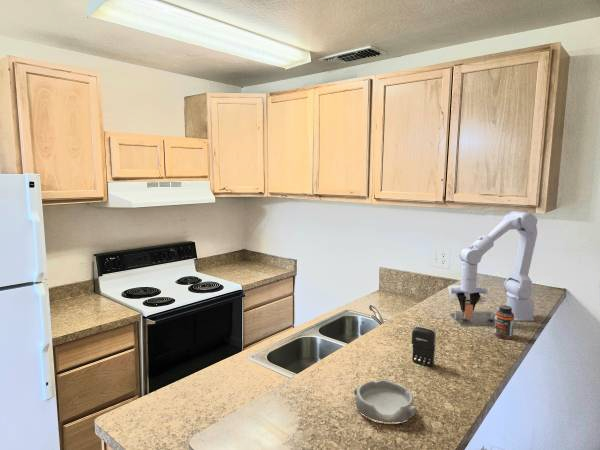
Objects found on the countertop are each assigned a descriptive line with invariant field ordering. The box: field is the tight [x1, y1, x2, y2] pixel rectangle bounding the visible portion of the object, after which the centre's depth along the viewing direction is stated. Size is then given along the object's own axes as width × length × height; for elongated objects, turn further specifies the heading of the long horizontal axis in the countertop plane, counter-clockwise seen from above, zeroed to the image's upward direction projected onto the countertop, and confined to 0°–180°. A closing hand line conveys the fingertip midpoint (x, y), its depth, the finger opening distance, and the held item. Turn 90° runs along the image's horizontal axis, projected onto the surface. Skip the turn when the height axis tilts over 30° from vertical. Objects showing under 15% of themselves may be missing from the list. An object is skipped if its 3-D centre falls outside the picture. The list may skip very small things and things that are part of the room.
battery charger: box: [411, 325, 437, 367], centre depth 120 cm, size 7×4×11 cm, turn 55°
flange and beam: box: [449, 310, 496, 327], centre depth 155 cm, size 16×12×4 cm
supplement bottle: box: [494, 304, 515, 340], centre depth 139 cm, size 6×6×11 cm
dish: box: [353, 379, 417, 422], centre depth 97 cm, size 14×14×5 cm
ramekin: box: [447, 284, 470, 301], centre depth 183 cm, size 11×11×5 cm
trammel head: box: [464, 301, 473, 320], centre depth 155 cm, size 3×4×6 cm
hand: (467, 310), depth 155 cm, fingers closed on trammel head, 3 cm apart
